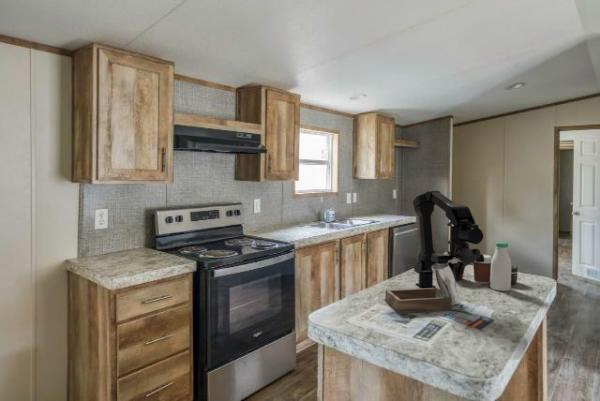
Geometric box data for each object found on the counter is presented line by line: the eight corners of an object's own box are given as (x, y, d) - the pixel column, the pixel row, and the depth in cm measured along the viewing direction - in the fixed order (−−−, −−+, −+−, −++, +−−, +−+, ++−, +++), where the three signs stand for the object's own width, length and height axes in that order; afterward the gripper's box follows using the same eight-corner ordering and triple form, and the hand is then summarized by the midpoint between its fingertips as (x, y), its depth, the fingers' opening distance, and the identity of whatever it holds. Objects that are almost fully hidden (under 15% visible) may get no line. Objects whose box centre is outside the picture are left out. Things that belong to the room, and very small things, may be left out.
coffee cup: (475, 277, 177) (476, 252, 176) (496, 281, 171) (497, 255, 170) (467, 281, 171) (468, 255, 170) (488, 285, 164) (489, 259, 164)
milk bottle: (513, 292, 156) (515, 244, 154) (493, 291, 157) (494, 244, 156) (506, 286, 163) (508, 241, 162) (487, 285, 165) (489, 240, 163)
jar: (517, 281, 172) (518, 264, 171) (516, 286, 164) (517, 269, 163) (493, 277, 177) (494, 262, 177) (491, 283, 169) (491, 266, 168)
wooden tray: (384, 300, 145) (384, 289, 145) (432, 298, 148) (433, 287, 148) (399, 313, 131) (399, 301, 131) (452, 310, 134) (452, 298, 134)
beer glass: (454, 307, 137) (441, 270, 135) (439, 303, 143) (427, 268, 141) (466, 298, 140) (453, 262, 138) (451, 294, 146) (439, 260, 144)
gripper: (446, 244, 131) (445, 287, 132) (494, 242, 134) (493, 285, 135) (430, 238, 142) (429, 279, 143) (475, 237, 145) (474, 276, 146)
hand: (456, 280), depth 141 cm, fingers closed
